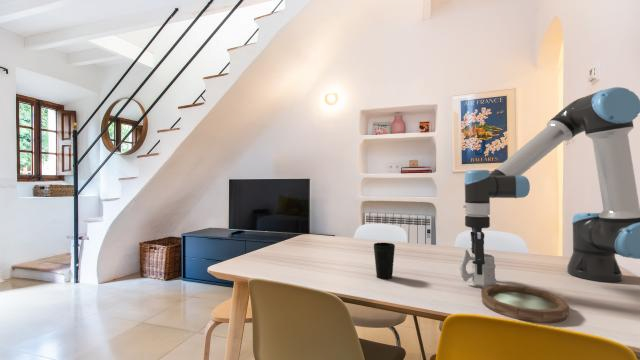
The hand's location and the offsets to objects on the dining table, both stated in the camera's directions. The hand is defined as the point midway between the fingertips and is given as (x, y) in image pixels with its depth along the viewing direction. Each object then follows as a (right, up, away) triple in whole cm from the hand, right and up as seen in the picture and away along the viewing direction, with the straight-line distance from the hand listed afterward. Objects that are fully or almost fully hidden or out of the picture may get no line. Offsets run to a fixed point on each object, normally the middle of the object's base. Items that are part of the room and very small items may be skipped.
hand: (477, 278), depth 107 cm
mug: (0, -3, 0) cm, 2 cm away
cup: (-30, -3, +9) cm, 31 cm away
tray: (+3, -2, -19) cm, 19 cm away
